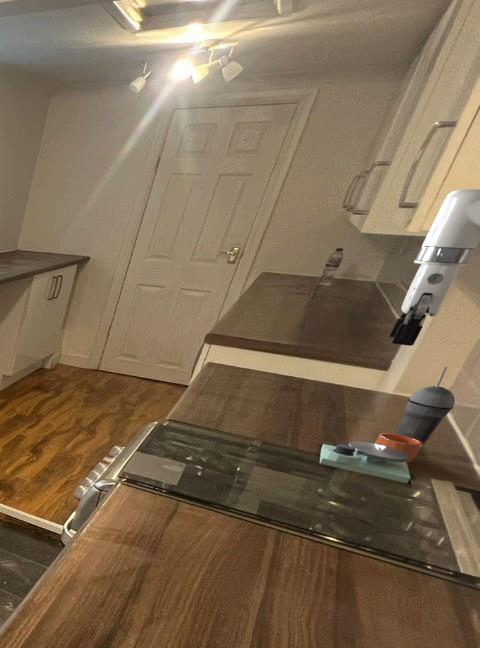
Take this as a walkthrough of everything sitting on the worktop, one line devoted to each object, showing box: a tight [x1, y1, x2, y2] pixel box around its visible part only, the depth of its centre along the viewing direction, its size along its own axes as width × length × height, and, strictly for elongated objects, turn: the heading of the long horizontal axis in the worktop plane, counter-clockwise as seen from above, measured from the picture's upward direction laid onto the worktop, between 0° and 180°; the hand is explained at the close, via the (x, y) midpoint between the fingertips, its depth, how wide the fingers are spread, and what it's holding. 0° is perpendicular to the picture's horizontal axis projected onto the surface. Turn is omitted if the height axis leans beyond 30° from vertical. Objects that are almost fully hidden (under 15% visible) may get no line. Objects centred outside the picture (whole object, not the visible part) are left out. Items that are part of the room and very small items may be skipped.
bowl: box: [373, 432, 424, 464], centre depth 132 cm, size 7×7×5 cm
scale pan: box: [348, 441, 409, 464], centre depth 129 cm, size 10×10×4 cm
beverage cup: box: [396, 366, 455, 450], centre depth 135 cm, size 7×7×20 cm
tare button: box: [334, 443, 356, 456], centre depth 128 cm, size 3×3×2 cm
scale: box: [319, 443, 411, 484], centre depth 129 cm, size 14×12×3 cm
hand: (400, 341), depth 125 cm, fingers open, 9 cm apart
